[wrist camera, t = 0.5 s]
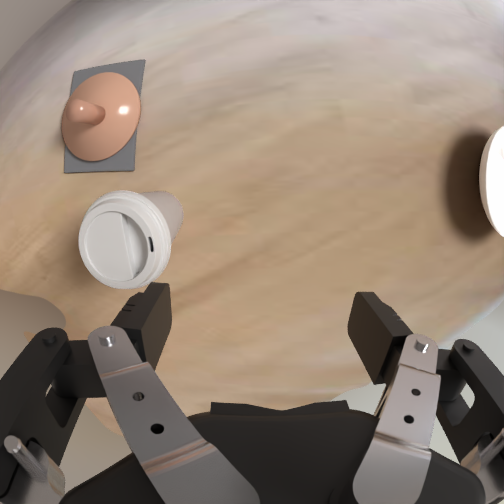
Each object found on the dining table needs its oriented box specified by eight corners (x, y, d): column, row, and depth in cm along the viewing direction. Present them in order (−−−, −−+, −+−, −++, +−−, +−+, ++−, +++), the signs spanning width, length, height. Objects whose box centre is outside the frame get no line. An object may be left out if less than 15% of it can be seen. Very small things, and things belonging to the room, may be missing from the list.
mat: (75, 72, 29) (74, 71, 29) (145, 60, 30) (144, 59, 30) (65, 172, 34) (64, 172, 34) (134, 170, 35) (133, 170, 34)
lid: (70, 81, 29) (44, 72, 23) (146, 68, 30) (128, 52, 24) (62, 163, 33) (34, 166, 27) (137, 159, 34) (115, 160, 28)
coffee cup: (185, 256, 39) (154, 310, 25) (123, 237, 38) (68, 278, 23) (203, 190, 36) (176, 210, 22) (137, 172, 35) (78, 182, 21)
